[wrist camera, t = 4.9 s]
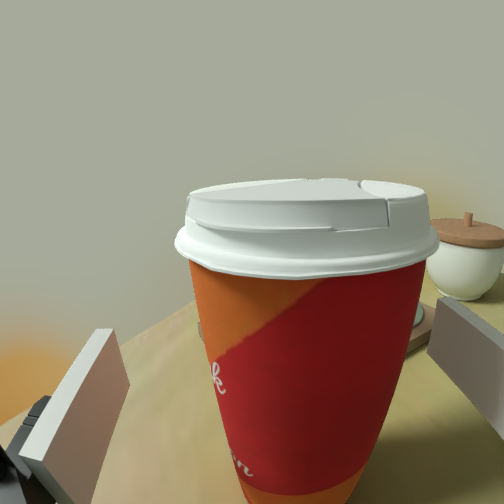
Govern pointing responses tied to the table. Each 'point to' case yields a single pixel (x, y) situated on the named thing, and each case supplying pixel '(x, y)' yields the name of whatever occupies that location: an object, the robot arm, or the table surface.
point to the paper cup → (305, 322)
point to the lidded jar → (466, 257)
